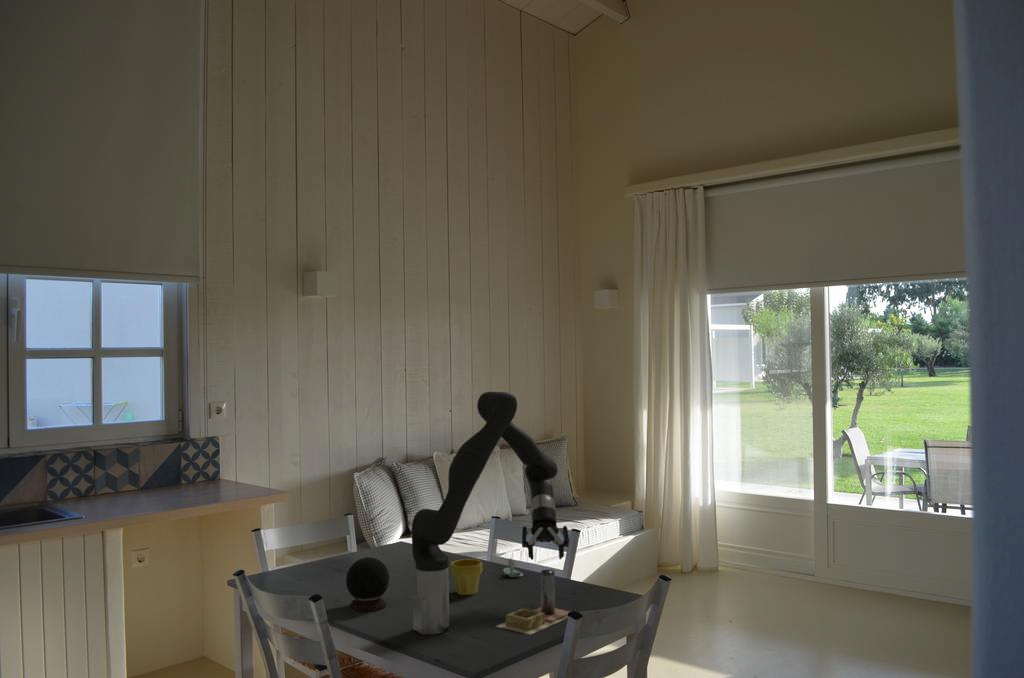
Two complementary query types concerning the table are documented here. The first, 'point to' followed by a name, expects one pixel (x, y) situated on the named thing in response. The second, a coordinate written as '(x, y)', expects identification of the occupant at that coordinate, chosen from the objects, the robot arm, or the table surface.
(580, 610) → the table surface
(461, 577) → the plant pot
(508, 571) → the pacifier
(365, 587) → the black ball on stand
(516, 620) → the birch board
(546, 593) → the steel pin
